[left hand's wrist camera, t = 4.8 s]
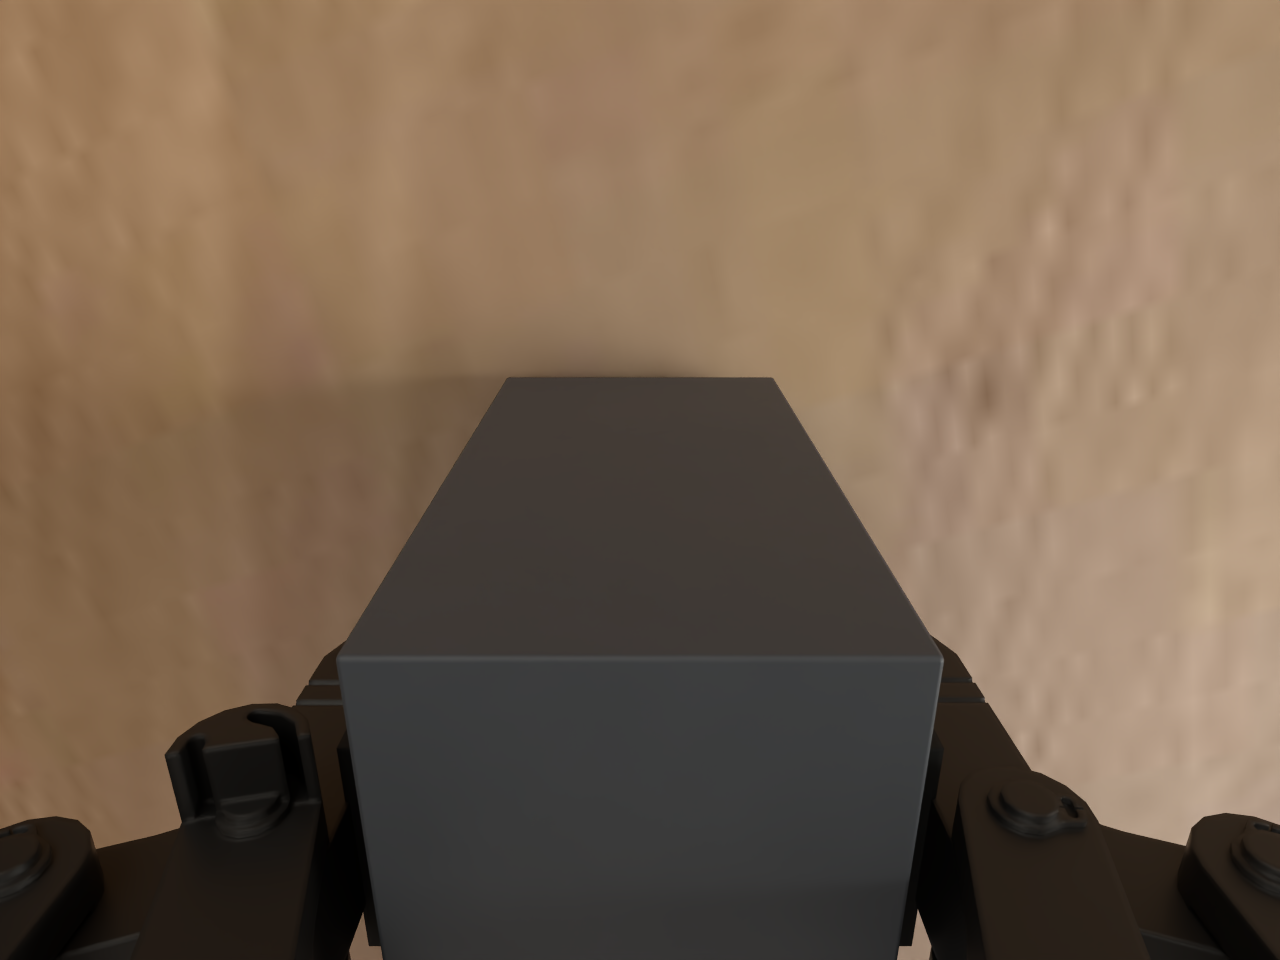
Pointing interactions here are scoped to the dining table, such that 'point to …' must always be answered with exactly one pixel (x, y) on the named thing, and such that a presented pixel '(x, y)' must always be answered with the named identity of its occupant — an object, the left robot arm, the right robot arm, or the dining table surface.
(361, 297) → the dining table surface
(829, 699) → the bar
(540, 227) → the dining table surface
